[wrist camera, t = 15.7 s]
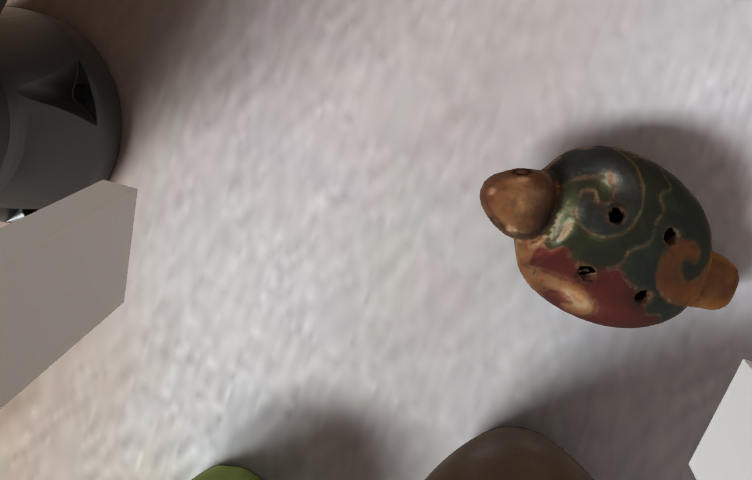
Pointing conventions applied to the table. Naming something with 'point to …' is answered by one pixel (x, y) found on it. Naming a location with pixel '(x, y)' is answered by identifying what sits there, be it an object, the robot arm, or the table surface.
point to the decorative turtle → (610, 238)
